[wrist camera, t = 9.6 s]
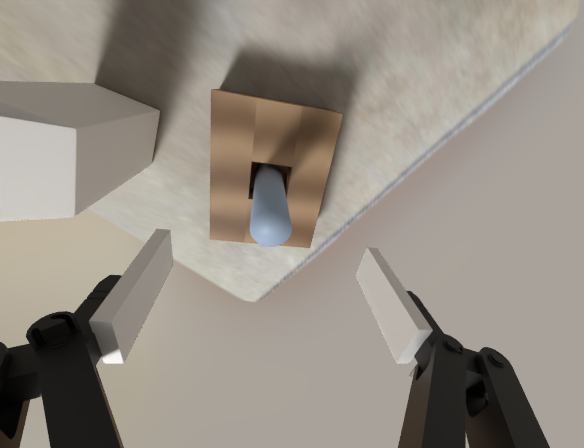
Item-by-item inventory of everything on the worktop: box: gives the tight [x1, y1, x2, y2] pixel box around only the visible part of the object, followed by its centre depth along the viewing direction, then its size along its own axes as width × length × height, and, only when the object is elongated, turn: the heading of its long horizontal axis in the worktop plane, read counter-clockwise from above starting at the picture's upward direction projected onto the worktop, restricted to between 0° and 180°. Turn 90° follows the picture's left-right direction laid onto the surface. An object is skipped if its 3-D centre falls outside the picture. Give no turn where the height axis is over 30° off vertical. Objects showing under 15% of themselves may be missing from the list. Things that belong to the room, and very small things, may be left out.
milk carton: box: [0, 81, 160, 221], centre depth 21 cm, size 7×7×19 cm
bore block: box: [210, 89, 343, 248], centre depth 32 cm, size 18×14×5 cm
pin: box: [250, 163, 292, 247], centre depth 26 cm, size 4×4×15 cm
